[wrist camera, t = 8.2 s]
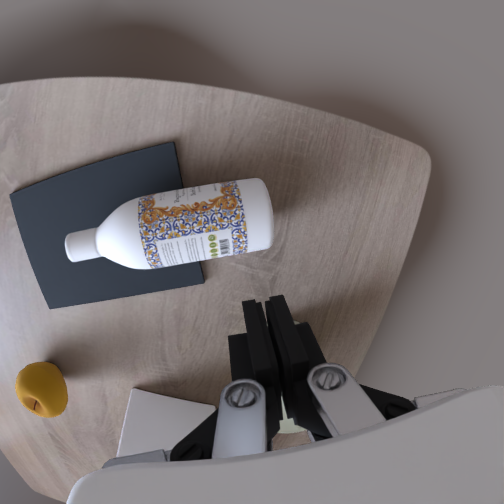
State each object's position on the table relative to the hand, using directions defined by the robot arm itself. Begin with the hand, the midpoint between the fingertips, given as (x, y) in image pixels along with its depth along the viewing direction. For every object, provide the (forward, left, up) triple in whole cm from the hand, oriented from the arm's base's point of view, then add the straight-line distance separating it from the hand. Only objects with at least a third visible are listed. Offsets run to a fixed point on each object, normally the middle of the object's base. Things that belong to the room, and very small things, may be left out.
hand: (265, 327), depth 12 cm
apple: (+37, -10, -22) cm, 44 cm away
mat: (+11, -11, -22) cm, 27 cm away
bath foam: (-2, +2, -18) cm, 19 cm away
